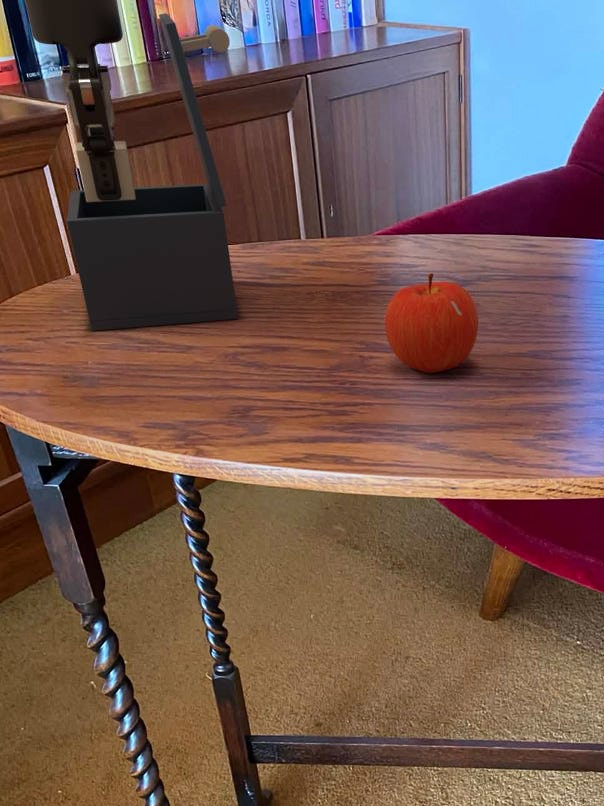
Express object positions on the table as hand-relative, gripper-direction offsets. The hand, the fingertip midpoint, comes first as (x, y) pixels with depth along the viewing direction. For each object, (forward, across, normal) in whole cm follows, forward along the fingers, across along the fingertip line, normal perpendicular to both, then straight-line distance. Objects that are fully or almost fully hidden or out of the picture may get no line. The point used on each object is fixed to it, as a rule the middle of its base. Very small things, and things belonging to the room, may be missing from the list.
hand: (110, 192), depth 92 cm
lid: (-7, 0, +8) cm, 11 cm away
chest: (+11, 0, +3) cm, 11 cm away
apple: (+11, +25, +25) cm, 37 cm away
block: (0, 0, 0) cm, 0 cm away
